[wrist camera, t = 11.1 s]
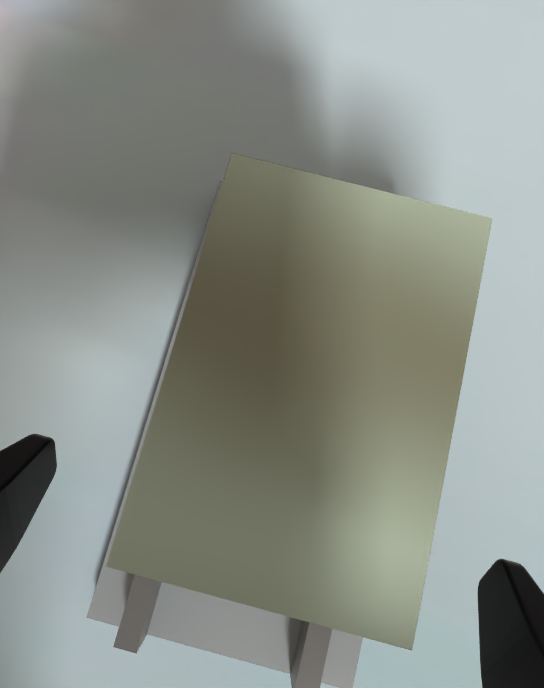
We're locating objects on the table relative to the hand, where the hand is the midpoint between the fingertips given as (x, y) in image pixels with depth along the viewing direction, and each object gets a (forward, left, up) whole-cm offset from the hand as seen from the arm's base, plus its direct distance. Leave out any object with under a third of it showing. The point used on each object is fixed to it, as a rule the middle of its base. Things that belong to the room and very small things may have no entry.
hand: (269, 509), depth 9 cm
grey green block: (+2, 0, -9) cm, 10 cm away
